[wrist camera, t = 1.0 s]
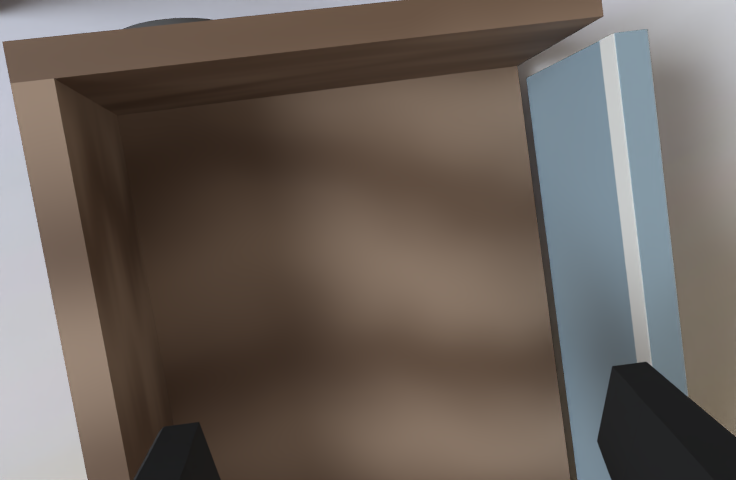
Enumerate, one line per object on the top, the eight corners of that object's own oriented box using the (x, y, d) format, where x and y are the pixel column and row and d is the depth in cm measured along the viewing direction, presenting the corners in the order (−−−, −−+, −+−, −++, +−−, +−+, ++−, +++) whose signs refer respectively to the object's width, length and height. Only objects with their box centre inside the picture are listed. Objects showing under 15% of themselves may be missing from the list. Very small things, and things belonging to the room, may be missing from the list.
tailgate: (612, 564, 24) (720, 678, 19) (587, 570, 24) (688, 687, 18) (551, 75, 23) (649, 28, 17) (525, 78, 23) (613, 32, 17)
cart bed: (577, 615, 25) (690, 766, 19) (205, 716, 23) (176, 932, 16) (500, 18, 23) (594, -61, 17) (84, 64, 21) (-7, -5, 14)
